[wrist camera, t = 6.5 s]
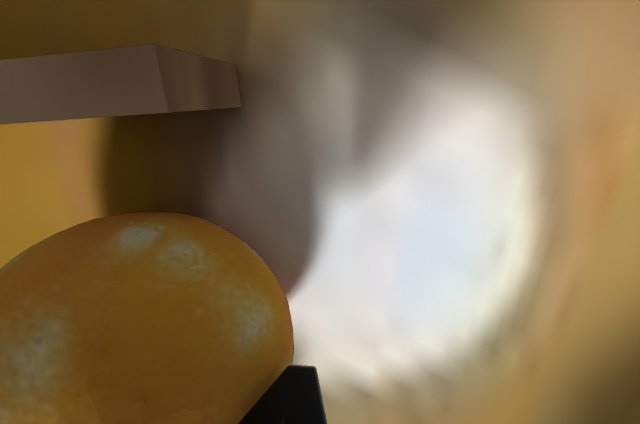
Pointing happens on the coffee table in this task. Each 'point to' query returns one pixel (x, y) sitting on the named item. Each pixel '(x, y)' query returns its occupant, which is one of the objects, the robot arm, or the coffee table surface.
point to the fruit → (139, 325)
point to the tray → (114, 84)
